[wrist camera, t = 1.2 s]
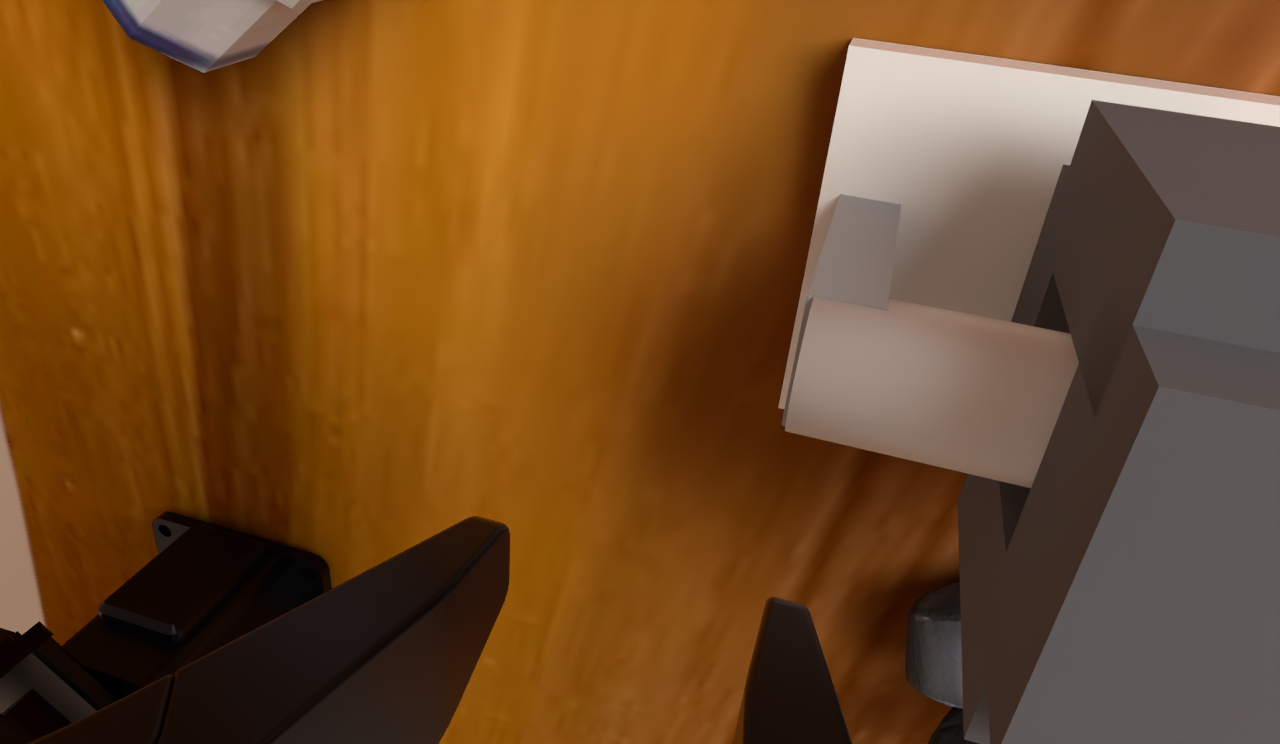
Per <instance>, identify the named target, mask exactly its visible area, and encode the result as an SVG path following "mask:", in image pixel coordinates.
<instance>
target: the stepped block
mask: <svg viewBox="0 0 1280 744" xmlns="http://www.w3.org/2000/svg"><path fill="white" fill-rule="evenodd" d="M1011 322H1014V323H1019V324H1024V325H1029V326H1034V327H1039V328H1044V329H1049V330H1054V331H1060V332H1065V333H1070V334H1071V337H1072V341H1073V344H1074V348H1075V351H1076V355H1077V358H1078V362H1079V364H1078V367H1077V369H1076V372H1075V375H1074V377H1073V380H1072V382H1071V385H1070V388H1069V390H1068V393H1067V396H1066V398H1065V401H1064V403H1063V406H1062V409H1061V411H1060V414H1059V416H1058V419H1057V422H1056V424H1055V427H1054V429H1053V432H1052V435H1051V437H1050V440H1049V443H1048V445H1047V448H1046V450H1045V453H1044V456H1043V458H1042V461H1041V463H1040V466H1039V469H1038V471H1037V474H1036V476H1035V479H1034V482H1033V484H1032V487H1031V488H1028V487H1023V486H1019V485H1015V484H1010V483H1006V482H1002V481H997V480H993V479H989V478H984V477H980V476H976V475H972V474H967V475H966V478H965V481H964V484H963V487H962V490H961V493H960V496H959V499H958V528H959V568H960V608H961V648H962V688H963V728H964V739H965V740H968V741H972V742H975V743H979V744H1280V127H1276V126H1269V125H1262V124H1255V123H1248V122H1241V121H1234V120H1227V119H1221V118H1214V117H1207V116H1200V115H1193V114H1186V113H1179V112H1172V111H1165V110H1158V109H1151V108H1144V107H1137V106H1130V105H1123V104H1116V103H1110V102H1103V101H1096V100H1092V101H1091V104H1090V107H1089V110H1088V113H1087V116H1086V119H1085V122H1084V125H1083V128H1082V131H1081V134H1080V137H1079V140H1078V143H1077V146H1076V149H1075V152H1074V155H1073V158H1072V161H1071V164H1070V165H1064V164H1063V166H1062V169H1061V172H1060V175H1059V178H1058V181H1057V184H1056V187H1055V190H1054V193H1053V196H1052V199H1051V202H1050V205H1049V208H1048V211H1047V214H1046V217H1045V220H1044V223H1043V226H1042V230H1041V233H1040V236H1039V239H1038V242H1037V245H1036V248H1035V251H1034V254H1033V257H1032V260H1031V263H1030V266H1029V269H1028V272H1027V275H1026V278H1025V281H1024V284H1023V287H1022V290H1021V293H1020V296H1019V299H1018V302H1017V305H1016V308H1015V311H1014V314H1013V317H1012V320H1011Z"/></svg>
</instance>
